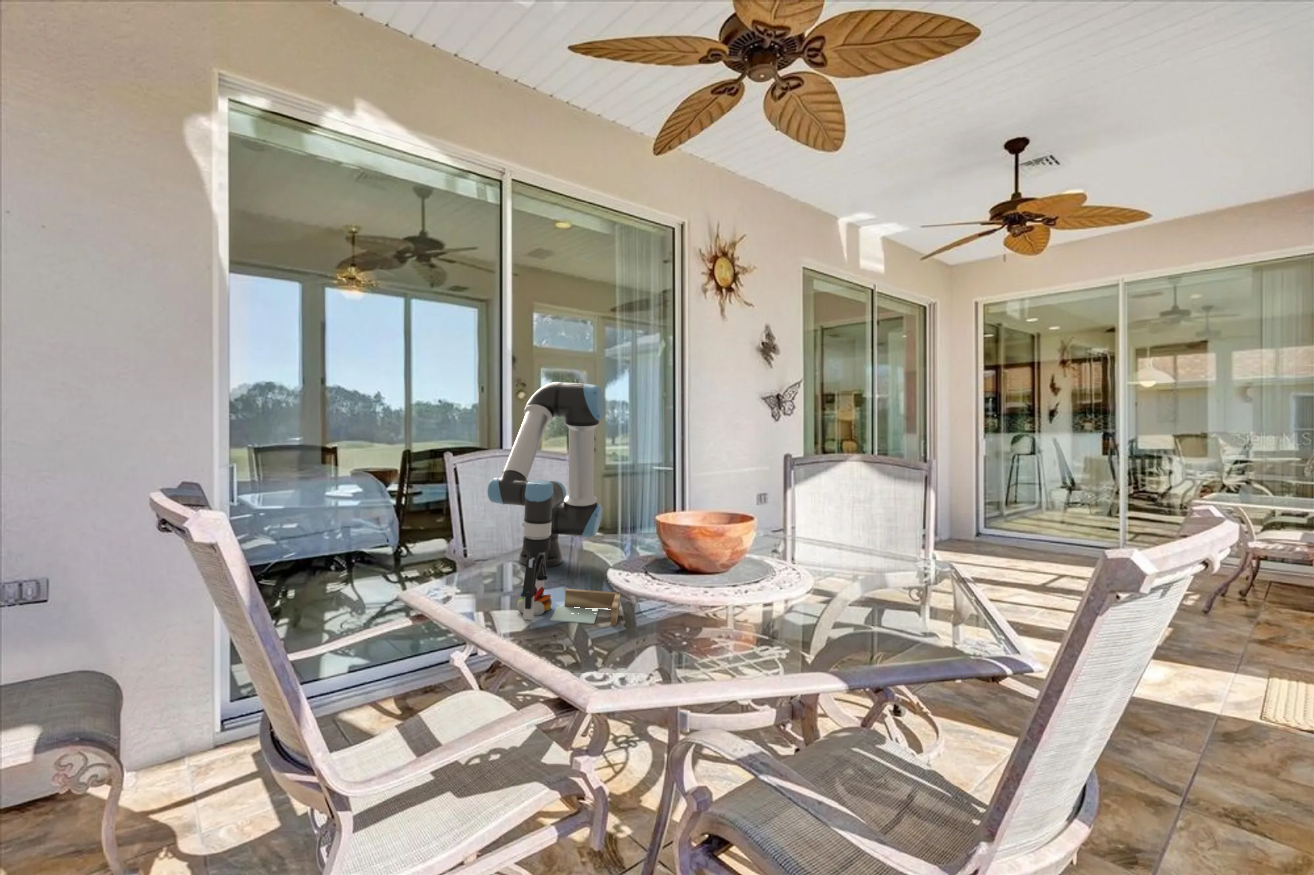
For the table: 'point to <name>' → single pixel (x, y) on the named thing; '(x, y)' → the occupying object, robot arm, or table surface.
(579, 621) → the pad
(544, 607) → the rainbow petal toy
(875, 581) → the table surface
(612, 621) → the wooden bracket
